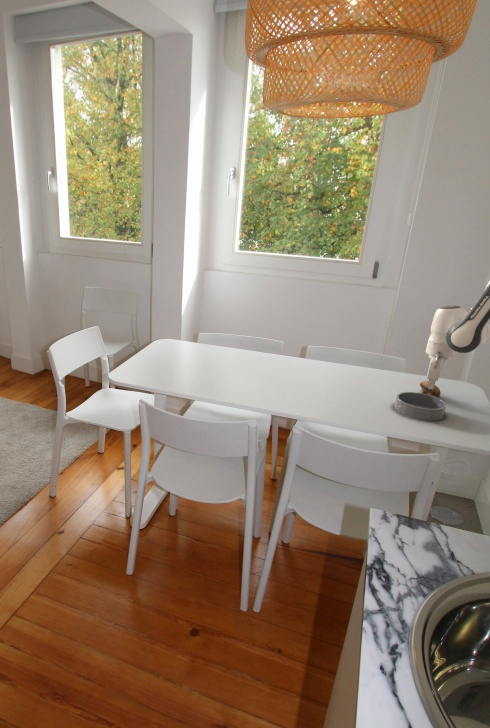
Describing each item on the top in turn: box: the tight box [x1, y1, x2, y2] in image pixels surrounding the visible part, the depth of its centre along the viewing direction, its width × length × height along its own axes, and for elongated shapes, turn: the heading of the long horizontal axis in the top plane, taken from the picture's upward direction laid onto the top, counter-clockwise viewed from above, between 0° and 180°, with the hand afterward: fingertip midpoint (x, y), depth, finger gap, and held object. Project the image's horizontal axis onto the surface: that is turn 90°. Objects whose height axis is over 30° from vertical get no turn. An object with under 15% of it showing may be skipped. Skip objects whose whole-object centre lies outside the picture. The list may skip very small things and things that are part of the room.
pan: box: [394, 391, 447, 421], centre depth 164 cm, size 15×15×4 cm
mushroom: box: [419, 380, 441, 398], centre depth 178 cm, size 8×8×6 cm
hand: (432, 384), depth 176 cm, fingers open, 8 cm apart
